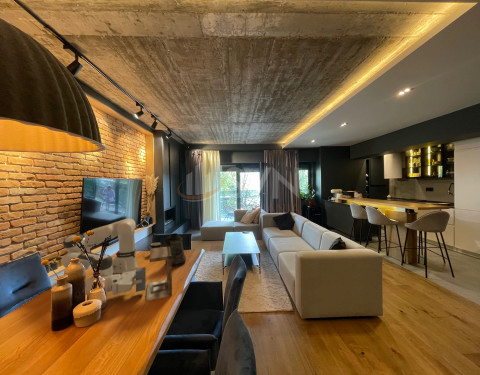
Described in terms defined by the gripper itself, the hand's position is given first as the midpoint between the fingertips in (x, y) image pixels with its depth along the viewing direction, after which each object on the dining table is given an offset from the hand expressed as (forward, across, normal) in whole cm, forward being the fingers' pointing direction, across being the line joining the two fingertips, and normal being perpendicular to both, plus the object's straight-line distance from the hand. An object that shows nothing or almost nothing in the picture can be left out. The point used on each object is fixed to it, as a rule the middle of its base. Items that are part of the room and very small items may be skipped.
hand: (142, 278), depth 123 cm
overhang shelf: (+9, -1, -10) cm, 13 cm away
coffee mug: (+6, -73, -10) cm, 74 cm away
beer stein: (+22, -41, -10) cm, 47 cm away
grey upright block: (-1, 0, -6) cm, 7 cm away
